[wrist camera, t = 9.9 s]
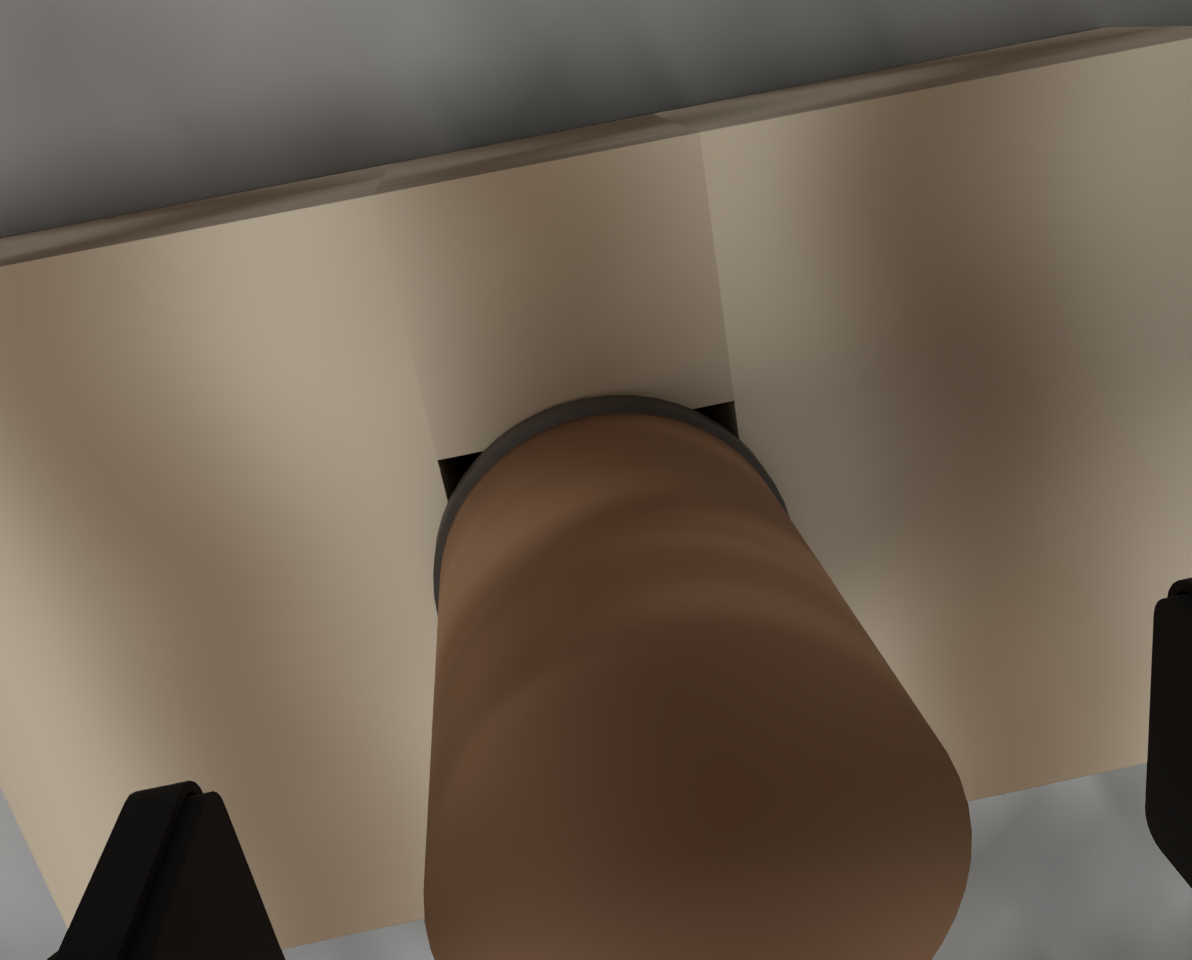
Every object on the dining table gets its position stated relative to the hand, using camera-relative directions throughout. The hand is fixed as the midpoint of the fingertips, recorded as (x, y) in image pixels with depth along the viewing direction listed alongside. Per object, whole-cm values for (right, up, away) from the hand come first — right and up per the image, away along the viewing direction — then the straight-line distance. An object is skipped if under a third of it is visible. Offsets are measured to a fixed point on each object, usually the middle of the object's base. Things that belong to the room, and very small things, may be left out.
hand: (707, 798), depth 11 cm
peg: (-1, +3, +10) cm, 10 cm away
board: (-1, +3, +10) cm, 10 cm away
